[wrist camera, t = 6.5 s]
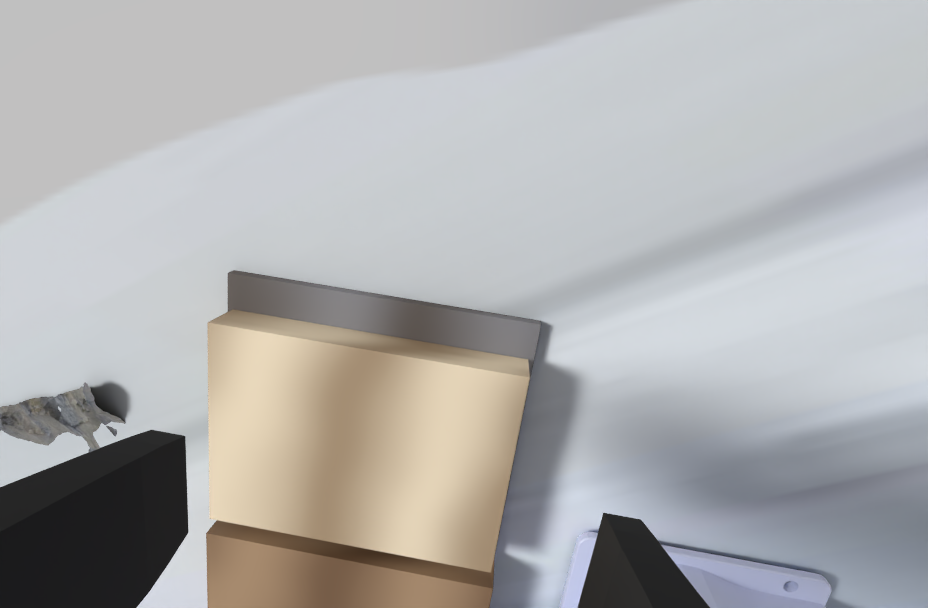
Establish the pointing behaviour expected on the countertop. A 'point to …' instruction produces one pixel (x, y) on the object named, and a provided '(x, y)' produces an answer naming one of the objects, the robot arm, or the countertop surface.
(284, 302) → the floor row
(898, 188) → the countertop surface
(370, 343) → the plank
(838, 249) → the countertop surface
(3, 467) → the countertop surface
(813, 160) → the countertop surface
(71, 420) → the driftwood
